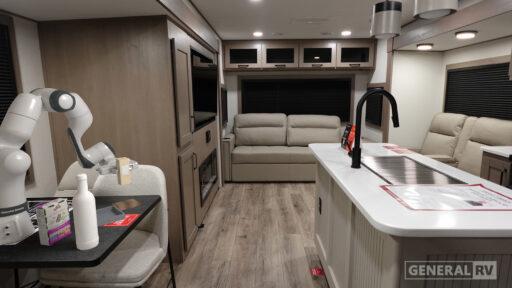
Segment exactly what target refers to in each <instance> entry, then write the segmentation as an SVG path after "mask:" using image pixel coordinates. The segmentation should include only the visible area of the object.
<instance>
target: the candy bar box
mask: <svg viewBox="0 0 512 288" xmlns="http://www.w3.org/2000/svg"><path fill="white" fill-rule="evenodd" d="M34 209H35V215H36V222H37V228H38V229H37V230H38V235H39V242H40V245H41V246H48V247H50V246H52V245H54V244H56V243H58V242H59V241H61V240H62V239H63V238H66V237H67V236H69V235H70V234H72V232H73V231H72V225H71V218H70V210H69V202H68V198H61V197H58V198H56V199H55V198H54V199H53V200H51V201H49V202H46V203H44V204H43V203H42V204H41V205H38V206H37V207H35V208H34Z"/></svg>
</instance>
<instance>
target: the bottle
mask: <svg viewBox="0 0 512 288" xmlns="http://www.w3.org/2000/svg"><path fill="white" fill-rule="evenodd" d="M87 175H88V174H86V173H78V174H76V175H75V181H76V191H77V192H76V193H75V194H74V196H73V197H72V200H71V204H72V213H73V223H74V233H75V244H76V249H77V250H80V251H87V250H91V249H94V248H95V247H97V246H98V245H99V243H100V242H99V239H100V238H99V231H98V227H97V217H96V210H97V208H96V198H95V196H94V194H93V192H91V191H90V190H88V189H89V187H88V176H87Z"/></svg>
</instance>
